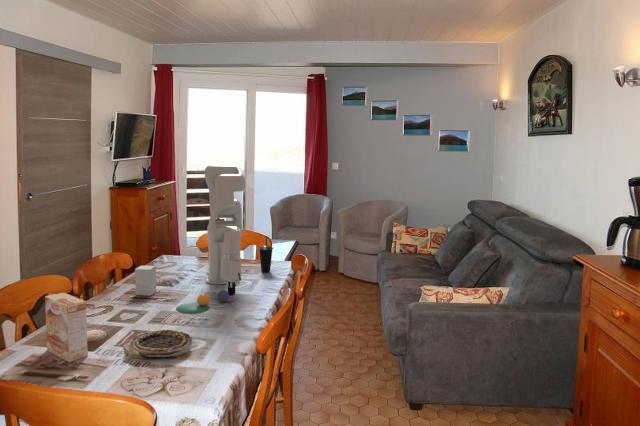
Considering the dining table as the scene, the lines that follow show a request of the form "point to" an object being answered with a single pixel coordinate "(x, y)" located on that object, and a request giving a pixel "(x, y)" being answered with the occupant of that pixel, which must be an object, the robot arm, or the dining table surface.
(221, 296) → the dark blue ball
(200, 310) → the green mark
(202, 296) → the orange ball
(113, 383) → the dining table surface
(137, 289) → the supplement box
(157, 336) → the woven basket
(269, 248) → the drinking cup
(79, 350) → the coffeecake box
